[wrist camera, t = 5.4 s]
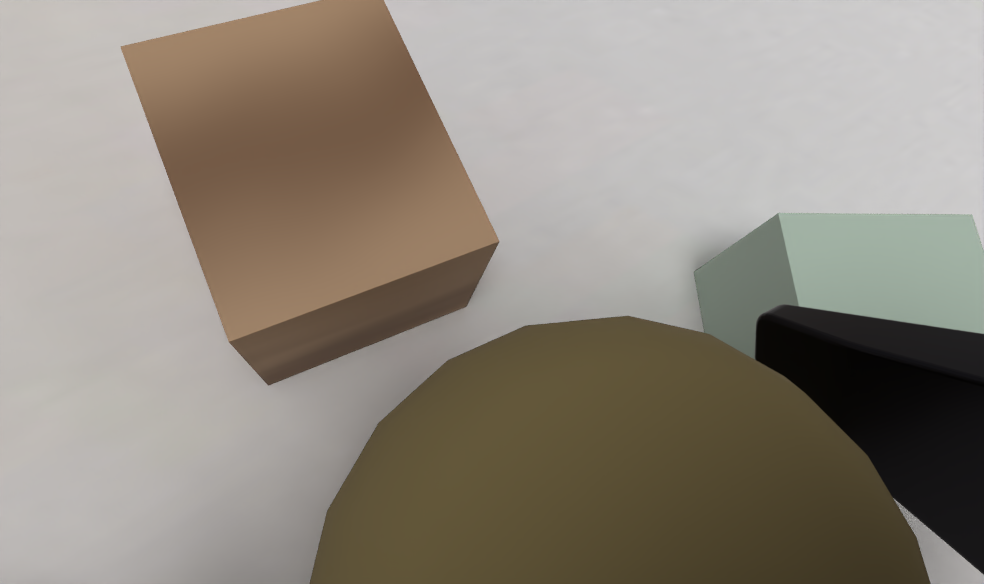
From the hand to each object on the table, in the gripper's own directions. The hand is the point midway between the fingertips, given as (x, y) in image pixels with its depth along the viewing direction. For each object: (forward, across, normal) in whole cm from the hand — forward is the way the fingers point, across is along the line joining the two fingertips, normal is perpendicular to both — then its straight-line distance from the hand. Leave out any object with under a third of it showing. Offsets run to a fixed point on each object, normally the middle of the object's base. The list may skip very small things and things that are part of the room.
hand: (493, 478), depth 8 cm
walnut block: (+10, 0, 0) cm, 10 cm away
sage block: (+4, -10, +6) cm, 12 cm away
